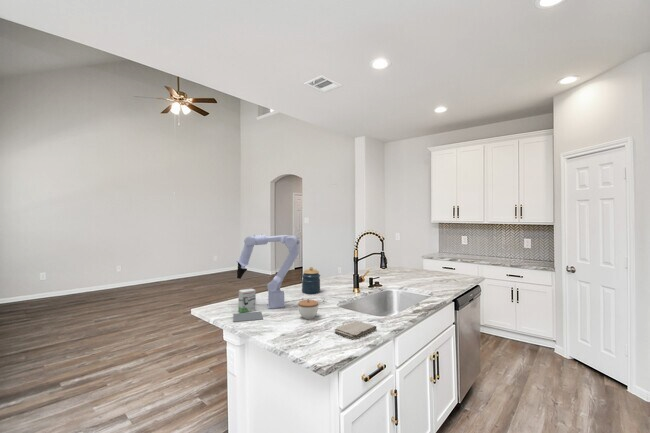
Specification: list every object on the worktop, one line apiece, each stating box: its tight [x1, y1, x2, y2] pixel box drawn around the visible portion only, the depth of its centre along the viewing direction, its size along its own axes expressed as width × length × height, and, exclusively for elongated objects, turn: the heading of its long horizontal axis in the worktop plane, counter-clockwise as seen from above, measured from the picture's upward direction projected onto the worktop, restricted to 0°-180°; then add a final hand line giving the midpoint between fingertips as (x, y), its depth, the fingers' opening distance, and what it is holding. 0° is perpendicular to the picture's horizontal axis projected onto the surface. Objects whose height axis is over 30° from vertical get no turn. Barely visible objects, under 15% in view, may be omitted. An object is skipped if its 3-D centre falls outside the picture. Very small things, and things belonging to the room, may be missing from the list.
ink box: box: [237, 288, 257, 313], centre depth 177 cm, size 9×5×12 cm, turn 126°
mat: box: [232, 311, 264, 323], centre depth 166 cm, size 15×12×1 cm
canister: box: [301, 266, 321, 295], centre depth 219 cm, size 13×13×18 cm
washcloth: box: [334, 320, 377, 340], centre depth 146 cm, size 12×18×3 cm, turn 136°
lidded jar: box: [297, 298, 319, 320], centre depth 167 cm, size 11×11×9 cm
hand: (238, 276), depth 188 cm, fingers open, 7 cm apart
